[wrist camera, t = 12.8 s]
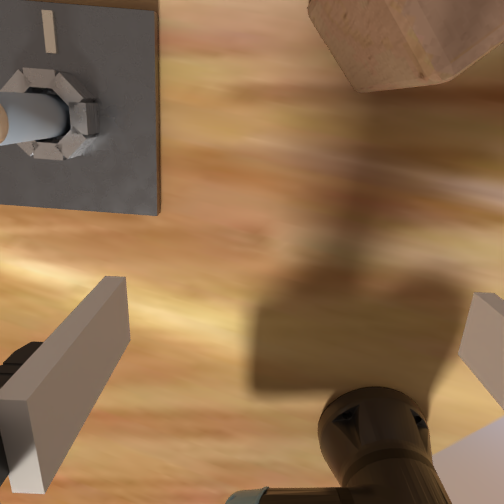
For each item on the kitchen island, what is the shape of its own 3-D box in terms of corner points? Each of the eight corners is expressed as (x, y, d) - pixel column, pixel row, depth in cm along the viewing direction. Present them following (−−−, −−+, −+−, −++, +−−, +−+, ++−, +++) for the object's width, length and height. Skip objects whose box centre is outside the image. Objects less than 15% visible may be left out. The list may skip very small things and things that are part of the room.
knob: (80, 137, 41) (-11, 153, 27) (41, 134, 41) (-69, 149, 27) (76, 95, 39) (-22, 89, 25) (36, 91, 39) (-83, 84, 25)
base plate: (160, 212, 45) (150, 223, 41) (-14, 199, 45) (-42, 209, 40) (158, 14, 38) (145, 3, 34) (-49, -3, 38) (-87, -16, 33)
